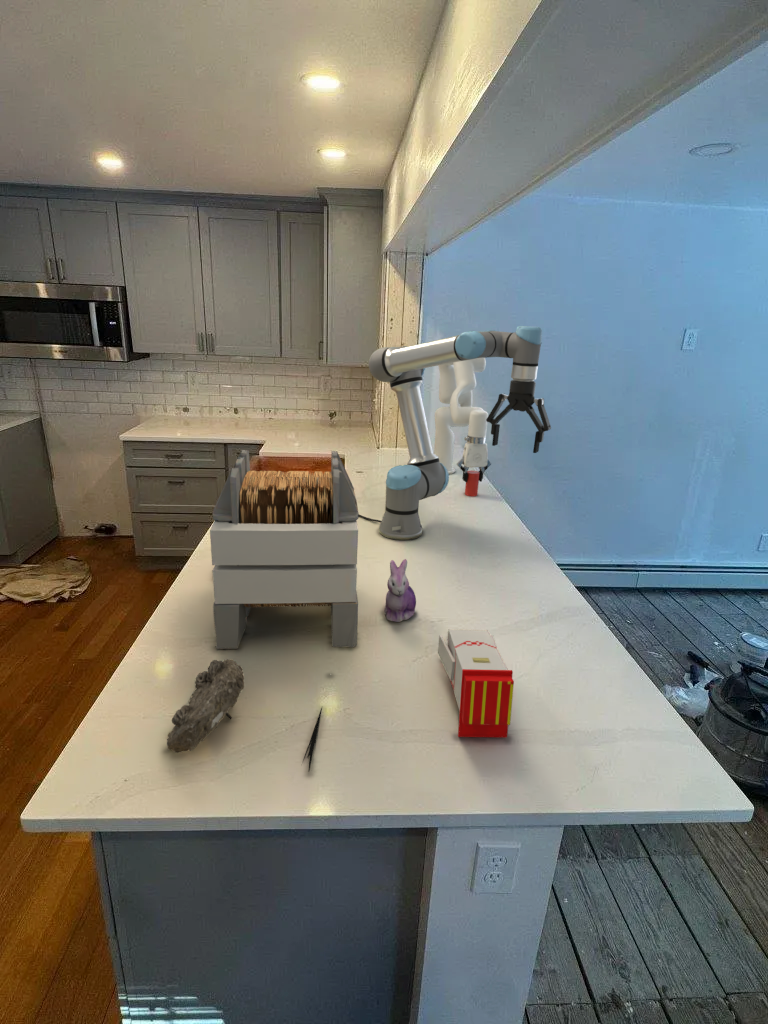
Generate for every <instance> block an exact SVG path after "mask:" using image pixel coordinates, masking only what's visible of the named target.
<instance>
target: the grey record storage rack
mask: <svg viewBox="0 0 768 1024" xmlns="http://www.w3.org/2000/svg"><path fill="white" fill-rule="evenodd" d="M330 459H331V460H330V461H331V462H330V466H331V467H330V471H324V472H323V471H320V470H319V471H317V470H316V471H315V470H314V472H310V471H309V470H288V471H281V470H278V471H277V470H259V471H258V470H251V464H250V450H249V449H247V450H246V449H241V450H240V453H239V455H238V457H237V459H236V461H235V463H234V465H233V467H232V468H231V470H230V472H229V474H228V477H227V479H226V481H225V483H224V485H223V488H222V490H221V492H220V495H219V497H218V499H217V501H216V503H215V506H214V507H213V510H212V520H213V523H212V524H211V527H210V529H209V538H210V555H211V565H212V566H214V567H213V569H212V584H213V600H214V601H213V605H212V610H213V611H212V612H213V624H214V633H215V646H214V648H215V649H216V650H222V651H223V649H225V650H227V649H229V650H230V649H233V650H234V649H235V650H237V649H238V648H239V646H240V643H241V641H242V638H243V635H244V633H245V630H246V628H247V618H249V615H250V612H251V608H270V607H272V608H276V607H277V608H279V607H280V608H282V607H285V608H288V607H291V608H294V607H295V608H296V607H306V606H307V607H326V606H328V607H330V617H331V618H330V620H331V621H330V625H331V626H330V627H331V647H333V648H335V647H337V648H338V647H339V648H340V647H347V648H354V647H356V646H358V622H359V621H358V618H359V600H358V592H357V583H358V568H357V564H358V547H359V546H358V545H359V528H358V527H359V526H358V520H359V515H360V514H359V507H358V502H357V498H356V497H357V496H356V493H355V492H356V491H355V487H354V485H353V482H352V481H351V478H350V477H349V474H348V472H347V470H346V468H345V465H344V463H343V461H342V459H341V457H340V455H339V453H338V451H337V450H331V458H330Z"/></svg>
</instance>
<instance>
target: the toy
mask: <svg viewBox="0 0 768 1024" xmlns="http://www.w3.org/2000/svg"><path fill="white" fill-rule="evenodd" d="M446 640H447V643H446V641H445V639H444V636H443V635H442V634H439V637H438V646H437V656H438V657H439V659H440V661H441V663H442V666H443V668H444V670H445V672H446V674H447V677H448V679H449V681H450V684H451V687H452V690H453V693H454V697H455V701H456V705H457V708H458V711H459V714H458V715H459V716H458V730H457V731H458V732H457V737H458V738H508V731H509V726H510V725H511V717H512V707H513V697H514V696H513V695H514V684H515V680H514V679H513V673H514V671H513V670H512V669H508V667H507V665H506V662H505V661H504V659H503V658H502V655H501V653H500V651H499V649H498V647H497V643H496V639H495V637H494V635H493V634H491V632H490V631H489V629H467V628H466V629H465V628H463V629H461V628H460V629H459V628H448V630H447V639H446Z"/></svg>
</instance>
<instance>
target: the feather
mask: <svg viewBox="0 0 768 1024" xmlns="http://www.w3.org/2000/svg"><path fill="white" fill-rule="evenodd" d="M329 675H330V676H331V675H332V674H331V673H330V674H329ZM322 710H323V707H321V708H320V710H319V713H318V716H317V719H316V723H315V725H314V728H313V731H312V733H311V737H310V739H309V742H308V745H307V748H306V751H305V754H304V757H303V760H302V763H301V767H302V765H303V763H304V761H305V758H308V759H309V760H308V762H307V763H308V764H307V766H308V771H310V770H311V766H312V765H311V764H312V760H313V757H315V756H314V755H315V751H316V749H315V746H317V739H318V733H319V729H320V722H321V717H322V712H323V711H322ZM313 754H314V755H313ZM306 755H307V757H306Z"/></svg>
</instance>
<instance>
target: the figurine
mask: <svg viewBox="0 0 768 1024" xmlns="http://www.w3.org/2000/svg"><path fill="white" fill-rule="evenodd" d="M407 567H408V559H406V558H404V559H403V560H402V561H401V563H400V565H399V566H398V565H397V563H396V562H395V561H394V560H393V559H391V560H390V561H389V570H390V576H389V578H388V579H387V589H388V591H387V592H386V594H385V595H386V596H385V607H384V615H385V616H386V620H387V621H391V622H395V623H400V622H402V621H406V620H409V619H410V618H411V617H413V616H414V615H415V610H416V606H417V597H416V593H415V591H414V590H413V587H411V586H410V582H409V579H408V577H407V574H406V571H407Z"/></svg>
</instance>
